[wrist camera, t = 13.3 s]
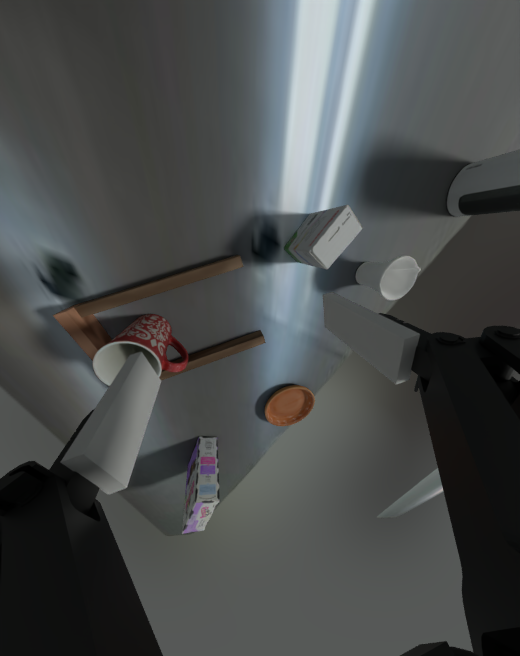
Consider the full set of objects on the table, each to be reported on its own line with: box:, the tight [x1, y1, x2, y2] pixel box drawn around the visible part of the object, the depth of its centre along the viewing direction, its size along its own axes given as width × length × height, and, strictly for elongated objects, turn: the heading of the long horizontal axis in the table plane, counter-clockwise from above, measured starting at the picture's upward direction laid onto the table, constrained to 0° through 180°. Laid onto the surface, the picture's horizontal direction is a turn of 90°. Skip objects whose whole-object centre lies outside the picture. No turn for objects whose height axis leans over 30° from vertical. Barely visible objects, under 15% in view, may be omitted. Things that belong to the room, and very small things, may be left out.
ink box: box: [284, 205, 362, 270], centre depth 34 cm, size 8×5×12 cm, turn 140°
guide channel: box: [53, 255, 265, 380], centre depth 39 cm, size 20×32×5 cm, turn 105°
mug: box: [93, 314, 188, 386], centre depth 35 cm, size 13×9×14 cm
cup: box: [355, 256, 420, 300], centre depth 42 cm, size 9×9×10 cm
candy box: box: [182, 436, 219, 534], centre depth 52 cm, size 14×6×16 cm, turn 158°
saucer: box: [265, 385, 315, 426], centre depth 58 cm, size 16×16×3 cm
